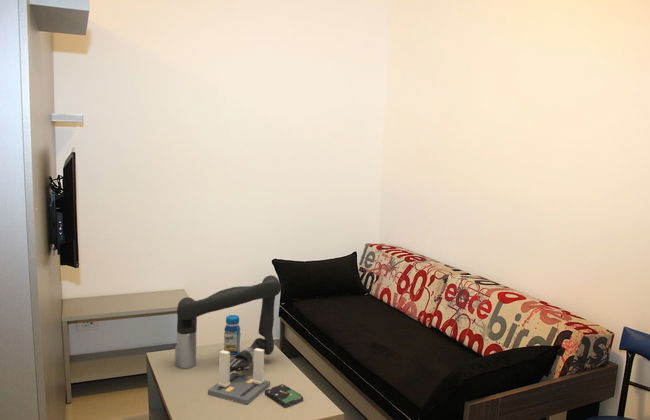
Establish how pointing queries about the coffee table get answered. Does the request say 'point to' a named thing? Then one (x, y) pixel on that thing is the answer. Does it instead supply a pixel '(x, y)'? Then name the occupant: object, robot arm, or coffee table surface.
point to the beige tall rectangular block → (258, 366)
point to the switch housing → (239, 389)
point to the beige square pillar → (224, 368)
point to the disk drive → (284, 395)
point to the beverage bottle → (232, 335)
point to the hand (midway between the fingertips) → (225, 371)
